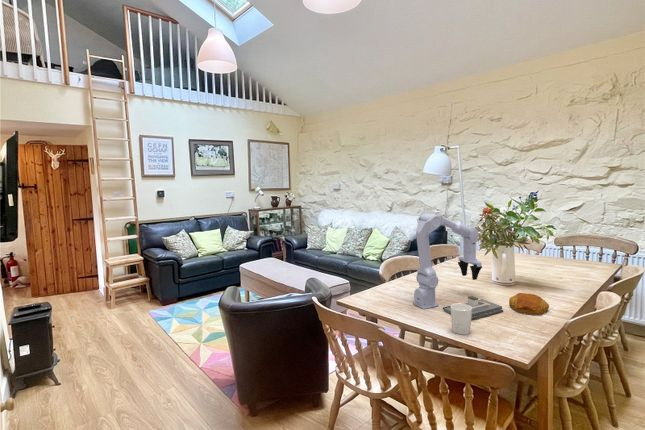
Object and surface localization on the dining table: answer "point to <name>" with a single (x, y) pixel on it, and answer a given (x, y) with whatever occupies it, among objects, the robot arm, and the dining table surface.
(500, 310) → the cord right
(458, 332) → the white cup
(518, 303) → the croissant
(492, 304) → the breaker panel
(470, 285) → the dining table surface
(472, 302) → the grey and beige block
